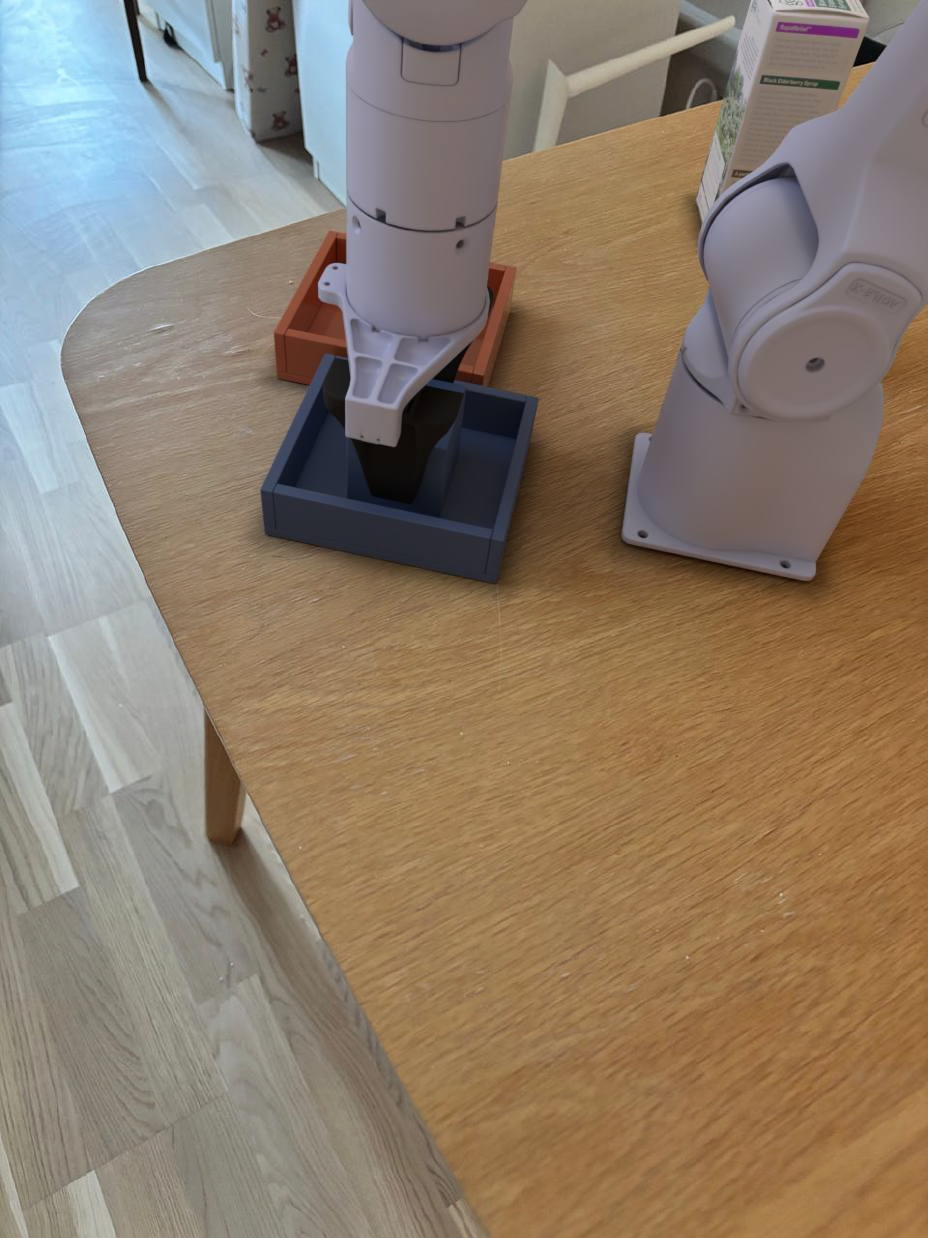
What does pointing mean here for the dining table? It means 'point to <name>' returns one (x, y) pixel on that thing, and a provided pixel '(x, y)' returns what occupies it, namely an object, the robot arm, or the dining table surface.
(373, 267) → the robot arm
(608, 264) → the dining table surface
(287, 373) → the terracotta bin
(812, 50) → the syrup box
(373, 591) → the dining table surface
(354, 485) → the blue block
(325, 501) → the blue bin
